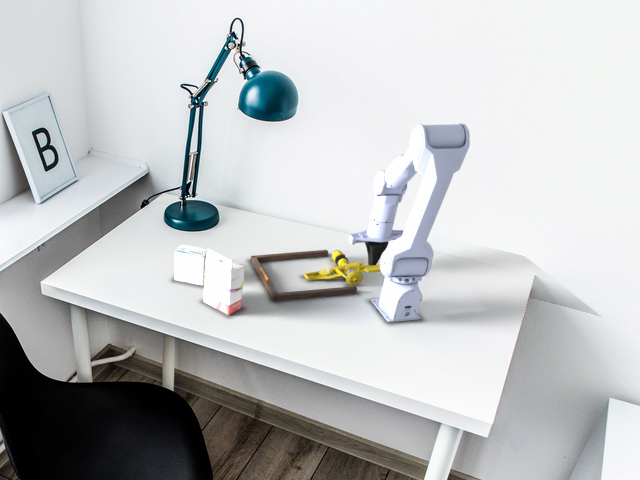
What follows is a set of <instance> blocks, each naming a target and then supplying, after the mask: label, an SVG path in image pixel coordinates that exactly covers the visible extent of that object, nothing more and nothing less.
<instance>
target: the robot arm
mask: <svg viewBox="0 0 640 480" xmlns="http://www.w3.org/2000/svg"><path fill="white" fill-rule="evenodd" d="M470 138H471V136H470V129H469V127H468V126H467V124H465V123H462V122H461V123H458V124H422V123H421V124H417V125H416V126H415V127H414V128H413V129H412V130H411V133H410V138H409V147H408V149H407V150H406V152H405V153H401V154H398V155H397V156H396V157H395V158H394V160H393V161H392V162H391V164H390V165H389V166H388V167H387V168H386V169H385V170H383V169H382V170H380V169H379V170H377V172H376V173H375V175H374V178H373V192H374V198H373V203H372V208H371V212H370V217H369V221H368V225H367V226H368V227H367V230H363V231H360V232H357V233H351V234H349V235H348V242H349V244H350V245H356V244H360V243H361V244H362V243H364V244H365V248H366V252H367V261H368V262H367V265H372V266H373V265H378V264H379V265H380V269H381V271H380V273H381V274H382V276H383V277H384V279H383V283H382V287H381V292H380V295H379V298H372V299H371V303H372V304H373V306H374V307H375V308H376V309H377V310H378V312H379V313H380V314H381V315H382V317H383V319H384V320H385V321H386V322H388V323H394V322H404V321H415V320H417V321H418V320H420V319H421V316H420V314H419V311H420V308H421V304H422V301H423V293H422V291H421V290H420V287H419V282H421V281H422V280H423V277H426V276H428V274H429V273H430V272H431V270H432V265H433V259H434V255H435V253H434V249H433V247H432V244H431V243H429V241H428V238H429V236H430V233H431V231H432V229H433V226H434V223H435V221H436V218H437V216H438V214H439V211H440V209H441V206H442V204H443V202H444V199H445V196H446V194H447V192H448V189H449V187H450V185H451V182H452V180H453V177H454V174H455V173H458V172H459V171H460V170H461V167H462V165H463V163H464V161H465V158H466V156H467V153H468V151H469V149H470V145H471V142H470V141H471V140H470ZM417 173H418V174H420V175H421V176H423V178H422V181H421V184H420V186H419V189H418V191H417V194H416V197H415V199H414V202H413V205H412V207H411V210H410V213H409V216H408V218H407V220H406V223H405V227H404V229H400V230H399V229H393V228H394V224H395V220H396V215H397V212H398V208H399V203H401V202H402V200H403V197H404V195H405V194H406V193H407V189H408V183H409V182H410V181H411V180H412V179H413V178H414V177H415V175H417ZM378 262H379V263H378Z"/></svg>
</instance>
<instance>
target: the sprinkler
mask: <svg viewBox="0 0 640 480" xmlns="http://www.w3.org/2000/svg"><path fill="white" fill-rule="evenodd" d="M331 258H332V260H333V262H334V263H333V264H335V265H336V266H333V268H329V271H328V270H327V269H325V268H324V269H322V270H318V271H312V272H305V273H304V275H303V276H304V277H305V279H306V280H308V281H318V280H332V279H339V278H340V279H343V278H345V280H346V281H345V282H346V284H348V285H349V286H350V287H351V286H357V285H359V284H360V283H361V282H362V280H363V274H362V273H364V272H365V273H367V274H371V273H381V269H380V264H377V265H373V266H372V265H368V264H367V265H365V262H361V263H360V262H349V258H347V256H346V254H345V253H343V252H342V251H341V250H339V249H334V250H333V251H332V252H331Z"/></svg>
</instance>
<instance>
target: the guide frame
mask: <svg viewBox="0 0 640 480" xmlns="http://www.w3.org/2000/svg"><path fill="white" fill-rule="evenodd" d="M328 256H329V250H328V249H318V250H305V251H295V252H294V251H293V252H282V253H281V252H280V253H270V254H268V253H267V254H255V255H251V256H250V262H251V264H252V266H253V268H254V269H255V272H256V273H257V275H258V276H259V278H260V280H261V282H262V284H263V285H264V287H265V289H266V290H267V292H268V294H269V296H270V298H271V299H272V301H273V302H275V301H287V300H288V301H289V300H297V299H300V300H301V299H311V298H321V297H333V296H334V297H335V296H347V295H355V294H357V292H358V288H357V285H354V286H351V285H350V286H342V287H341V286H340V287H329V288H319V289H318V288H316V289H305V290H295V291H284V292H283V291H282V292H277V290H276V288H275V287H274V285H273V283H272V281H271V280H270V278H269V276H268V275H267V273H266V271H265V269H264V268H263V266H262V264H261V263H264V262H266V263H267V262H278V261H289V260H291V261H292V260H301V259H303V260H304V259H312V258H313V259H314V258H324V257H325V258H327V257H328Z"/></svg>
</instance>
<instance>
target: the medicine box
mask: <svg viewBox="0 0 640 480" xmlns="http://www.w3.org/2000/svg"><path fill="white" fill-rule="evenodd" d="M208 249H209V248H204V247H199V246H193V245H187V244H183V243H181V244H180V245H179V246H178V247H177V249H176V250H175V251H174V281H176V282H177V281H178V282H183V283H187V284H193V285H197V286H202V287H204V283H205V264H206V258H207V250H208Z"/></svg>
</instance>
